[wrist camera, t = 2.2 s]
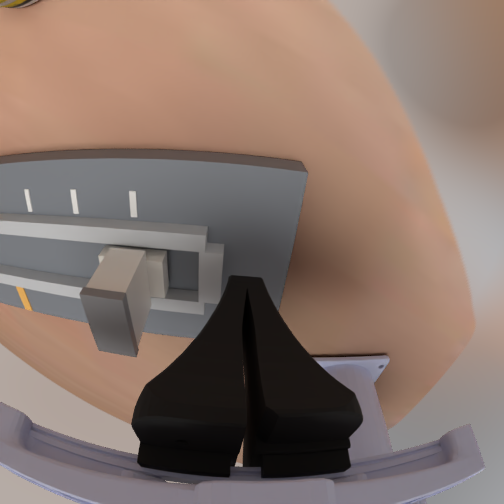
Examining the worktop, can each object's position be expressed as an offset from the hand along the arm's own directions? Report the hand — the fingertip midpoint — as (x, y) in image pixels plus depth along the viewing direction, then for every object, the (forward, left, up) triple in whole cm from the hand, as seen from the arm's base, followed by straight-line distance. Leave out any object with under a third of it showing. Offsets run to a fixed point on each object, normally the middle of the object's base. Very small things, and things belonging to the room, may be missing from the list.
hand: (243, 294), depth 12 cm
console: (0, +9, -3) cm, 10 cm away
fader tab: (0, +5, -1) cm, 5 cm away
